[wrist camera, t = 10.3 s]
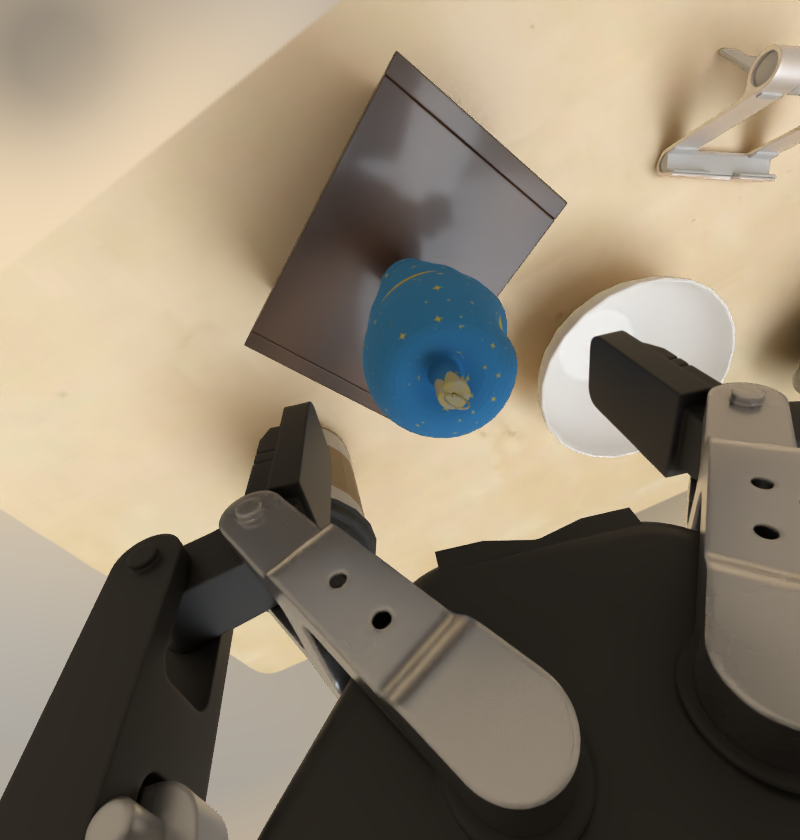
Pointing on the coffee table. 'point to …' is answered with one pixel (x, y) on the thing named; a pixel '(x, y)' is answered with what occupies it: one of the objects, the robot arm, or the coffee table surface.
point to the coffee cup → (346, 495)
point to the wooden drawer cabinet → (398, 225)
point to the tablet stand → (766, 83)
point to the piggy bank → (797, 379)
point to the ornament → (437, 350)
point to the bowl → (646, 321)
